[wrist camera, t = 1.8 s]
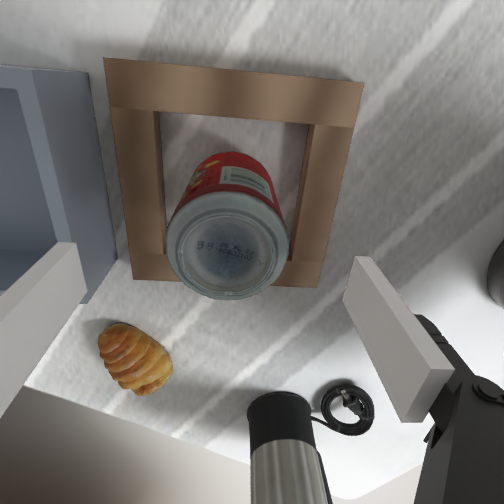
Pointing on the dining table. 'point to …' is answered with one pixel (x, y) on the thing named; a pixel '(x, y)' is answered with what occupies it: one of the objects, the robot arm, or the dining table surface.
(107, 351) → the pastry
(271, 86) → the collar block
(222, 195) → the soda can
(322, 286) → the dining table surface
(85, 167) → the bin
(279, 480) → the milk frother
